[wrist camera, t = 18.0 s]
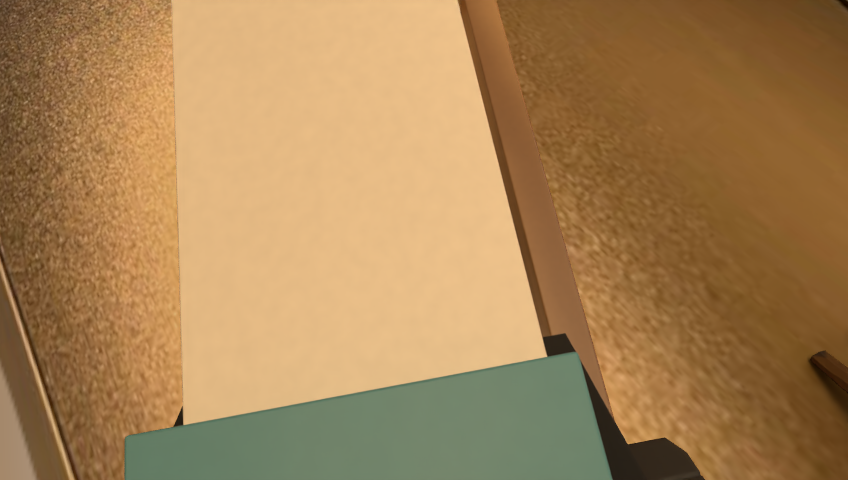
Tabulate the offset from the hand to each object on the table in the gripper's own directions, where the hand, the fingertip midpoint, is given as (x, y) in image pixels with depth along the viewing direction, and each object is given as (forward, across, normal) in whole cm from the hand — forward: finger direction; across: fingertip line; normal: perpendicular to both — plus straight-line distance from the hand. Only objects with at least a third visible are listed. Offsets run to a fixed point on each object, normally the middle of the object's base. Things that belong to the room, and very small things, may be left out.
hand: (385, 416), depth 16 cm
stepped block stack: (+6, 0, +1) cm, 6 cm away
